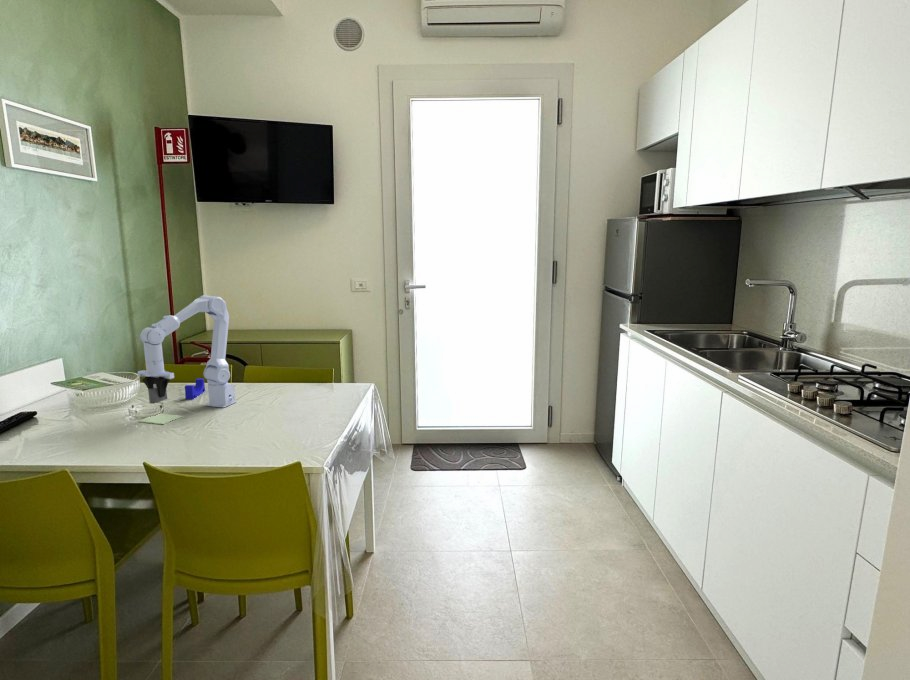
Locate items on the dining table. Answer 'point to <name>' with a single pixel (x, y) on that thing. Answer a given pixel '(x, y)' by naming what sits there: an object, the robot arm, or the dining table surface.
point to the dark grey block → (155, 395)
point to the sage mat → (160, 419)
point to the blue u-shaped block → (195, 389)
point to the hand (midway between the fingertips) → (158, 396)
